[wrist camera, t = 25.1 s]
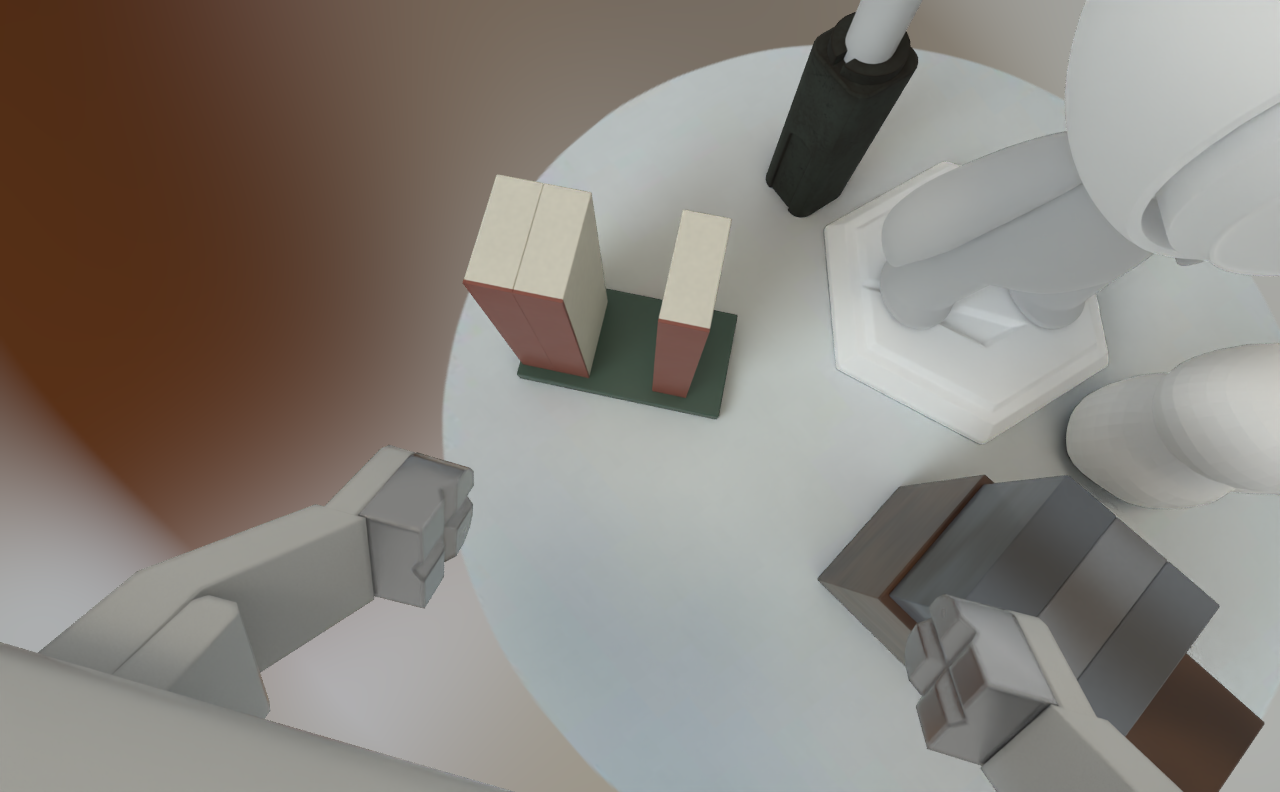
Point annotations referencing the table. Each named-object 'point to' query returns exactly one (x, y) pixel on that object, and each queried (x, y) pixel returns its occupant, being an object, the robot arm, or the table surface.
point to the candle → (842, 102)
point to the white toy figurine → (1067, 216)
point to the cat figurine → (1185, 430)
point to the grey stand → (1057, 605)
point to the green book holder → (576, 302)
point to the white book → (689, 300)
